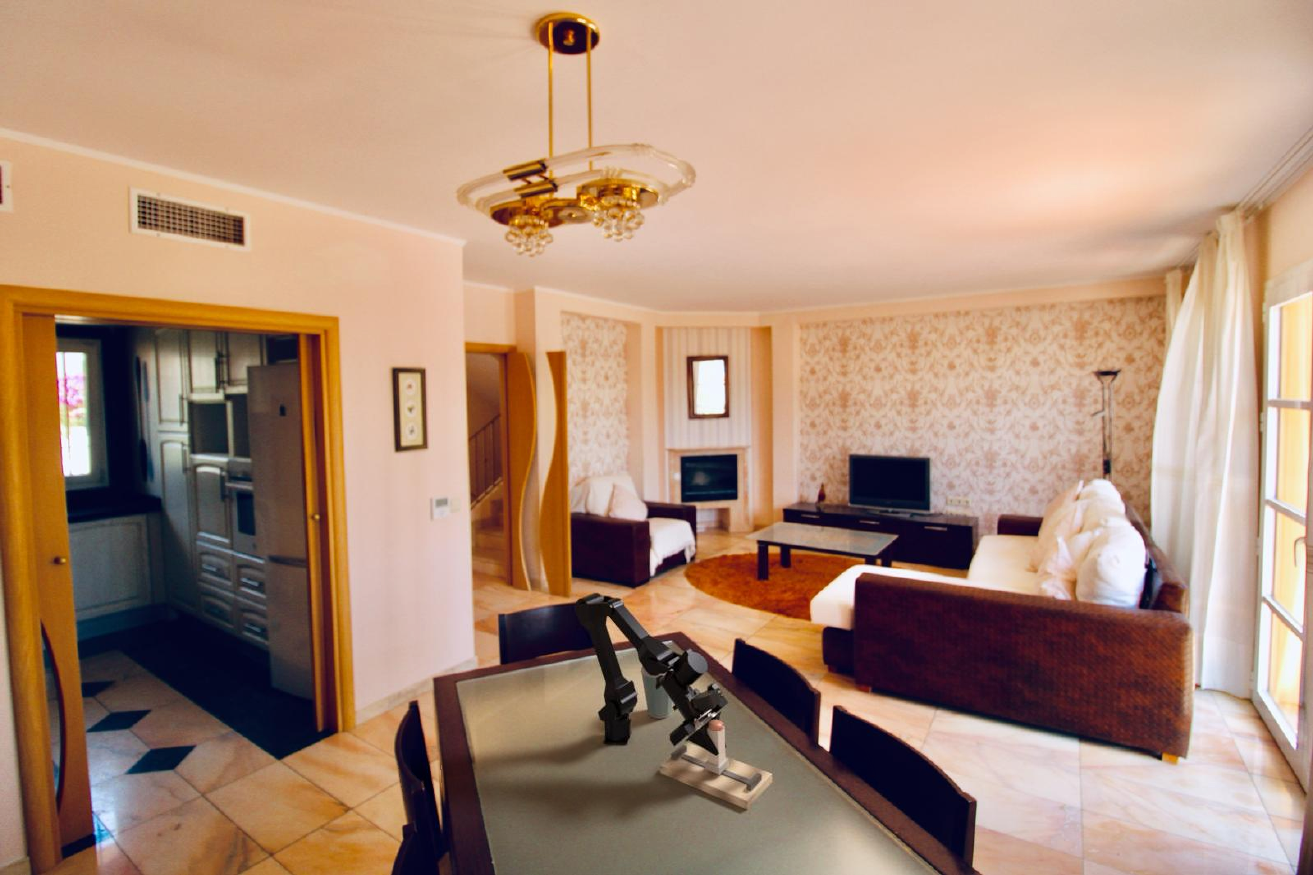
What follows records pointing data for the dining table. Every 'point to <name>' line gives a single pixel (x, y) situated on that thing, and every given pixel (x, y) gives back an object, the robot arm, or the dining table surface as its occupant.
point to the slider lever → (718, 738)
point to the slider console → (717, 776)
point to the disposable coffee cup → (656, 697)
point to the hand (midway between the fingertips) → (721, 751)
